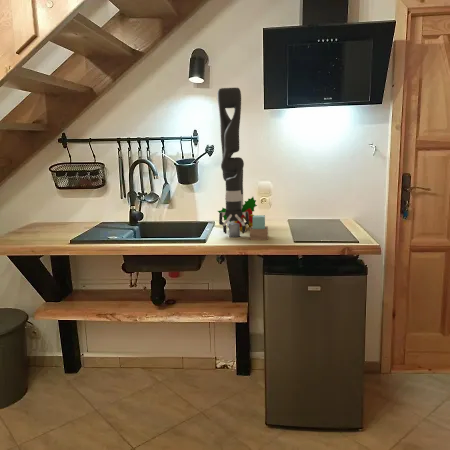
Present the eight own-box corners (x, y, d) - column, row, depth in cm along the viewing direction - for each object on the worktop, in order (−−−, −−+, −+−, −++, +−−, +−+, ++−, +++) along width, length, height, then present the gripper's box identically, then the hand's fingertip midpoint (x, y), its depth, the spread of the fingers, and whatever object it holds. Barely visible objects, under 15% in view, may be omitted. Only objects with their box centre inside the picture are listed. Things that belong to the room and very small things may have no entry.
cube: (253, 226, 212) (253, 215, 211) (265, 226, 211) (264, 215, 210) (252, 229, 206) (252, 217, 205) (264, 229, 206) (264, 217, 205)
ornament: (228, 240, 228) (219, 216, 221) (225, 232, 235) (216, 209, 228) (266, 226, 229) (258, 201, 221) (261, 219, 236) (254, 194, 229)
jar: (229, 235, 218) (229, 223, 217) (240, 235, 217) (240, 223, 216) (228, 237, 213) (228, 225, 212) (239, 237, 212) (239, 225, 211)
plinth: (251, 236, 214) (250, 226, 213) (267, 236, 213) (267, 226, 212) (250, 240, 206) (249, 229, 205) (267, 240, 205) (267, 229, 204)
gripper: (248, 198, 214) (249, 231, 217) (219, 199, 216) (220, 231, 219) (247, 200, 207) (248, 234, 210) (217, 201, 209) (218, 235, 212)
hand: (234, 233), depth 214 cm, fingers open, 8 cm apart
